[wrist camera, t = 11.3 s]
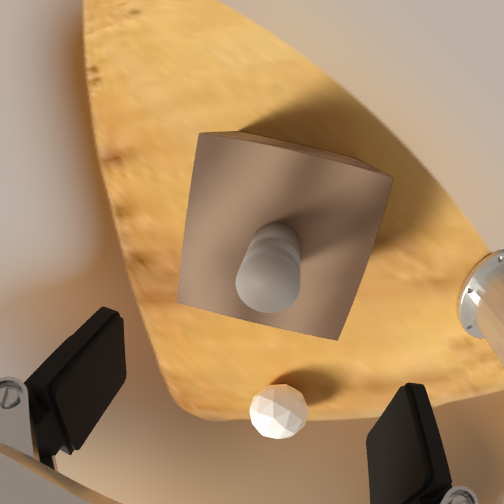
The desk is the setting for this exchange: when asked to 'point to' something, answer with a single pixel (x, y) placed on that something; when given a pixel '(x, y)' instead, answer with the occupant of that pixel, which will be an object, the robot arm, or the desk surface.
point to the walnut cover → (278, 231)
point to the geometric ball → (278, 411)
